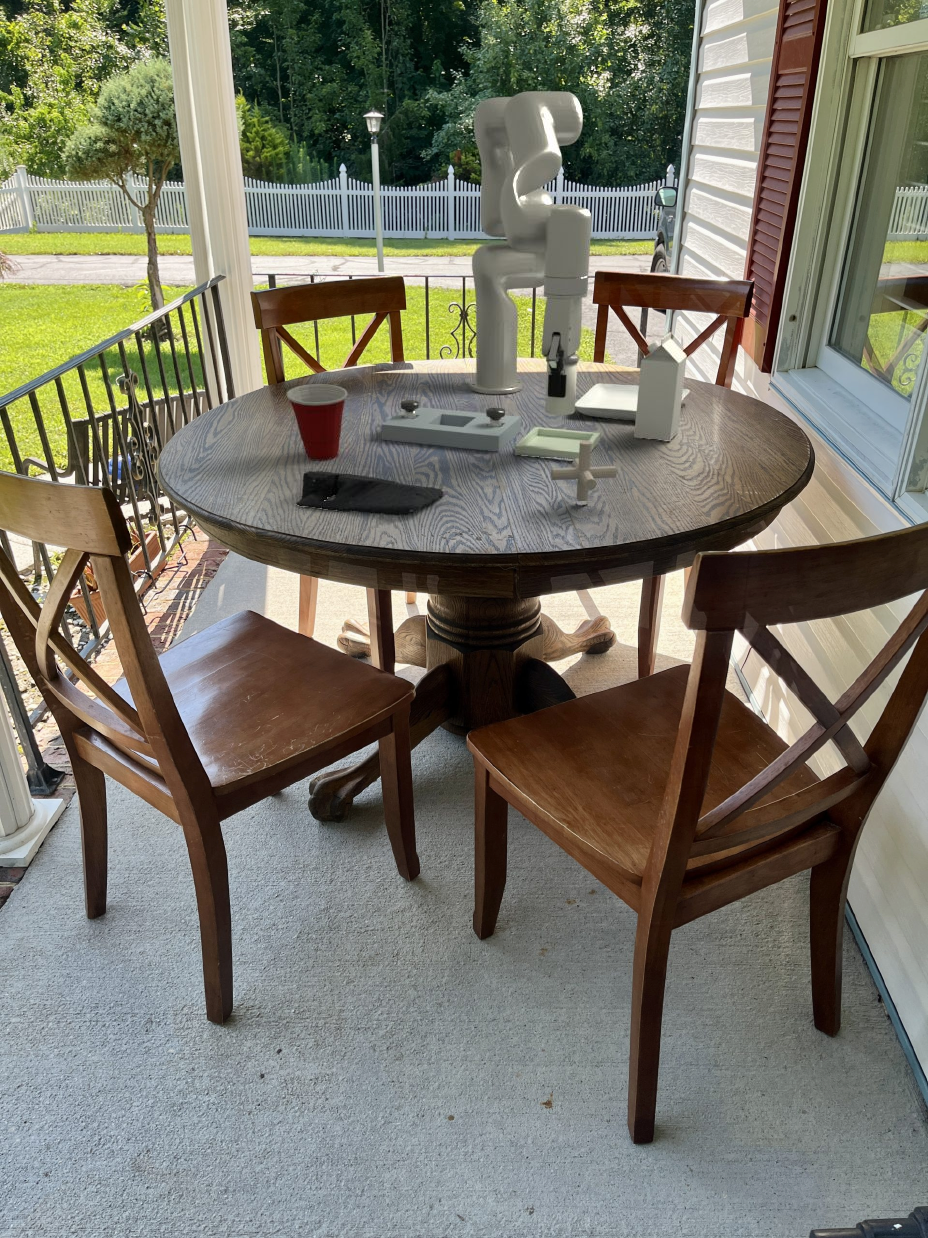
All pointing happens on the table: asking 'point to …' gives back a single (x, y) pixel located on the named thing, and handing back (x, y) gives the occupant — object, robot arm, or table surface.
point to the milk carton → (660, 390)
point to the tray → (554, 443)
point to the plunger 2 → (495, 416)
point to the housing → (452, 429)
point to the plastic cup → (319, 418)
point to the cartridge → (568, 402)
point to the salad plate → (612, 401)
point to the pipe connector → (583, 472)
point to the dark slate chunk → (364, 494)
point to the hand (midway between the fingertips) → (561, 391)
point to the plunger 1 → (410, 408)
